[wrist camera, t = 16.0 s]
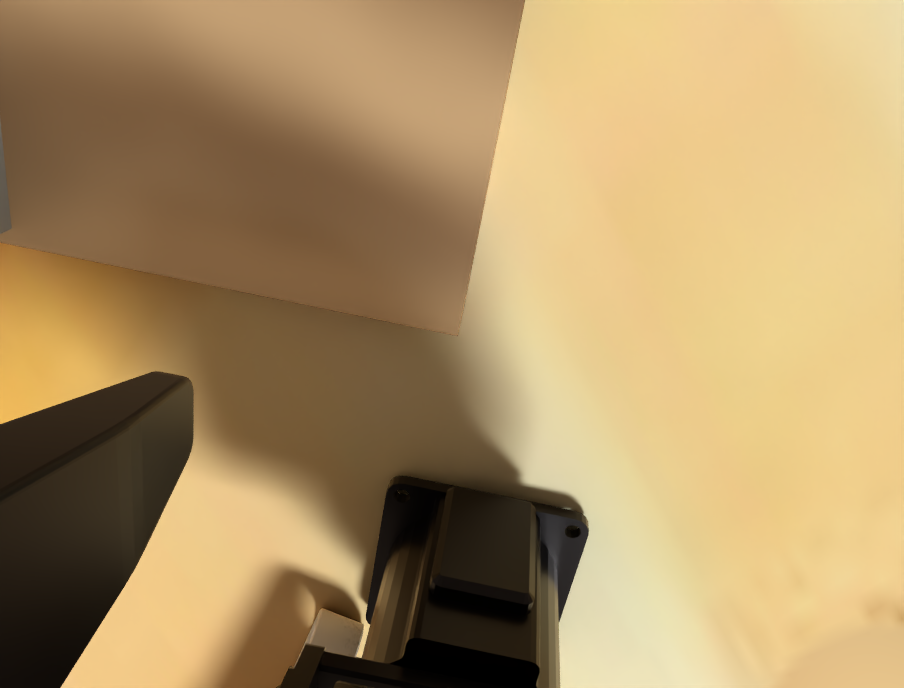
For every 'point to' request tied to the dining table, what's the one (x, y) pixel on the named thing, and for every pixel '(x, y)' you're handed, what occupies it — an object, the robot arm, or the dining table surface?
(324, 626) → the wrench
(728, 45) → the dining table surface
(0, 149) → the block
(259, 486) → the dining table surface
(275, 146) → the board
